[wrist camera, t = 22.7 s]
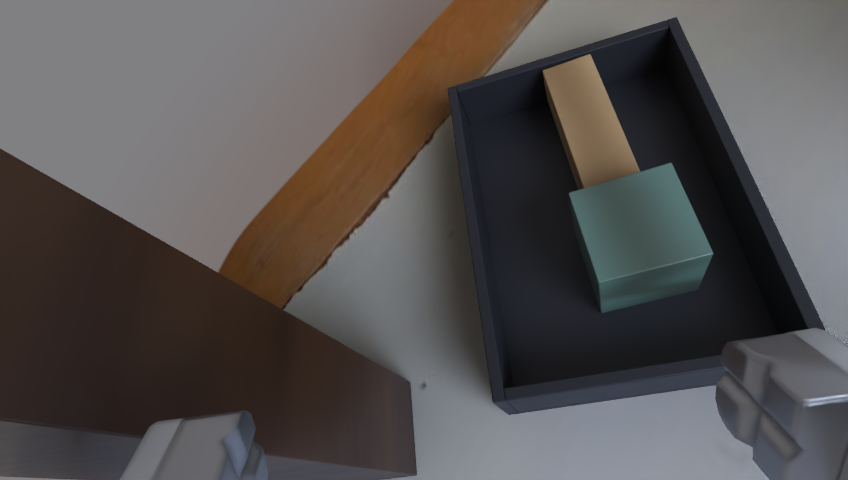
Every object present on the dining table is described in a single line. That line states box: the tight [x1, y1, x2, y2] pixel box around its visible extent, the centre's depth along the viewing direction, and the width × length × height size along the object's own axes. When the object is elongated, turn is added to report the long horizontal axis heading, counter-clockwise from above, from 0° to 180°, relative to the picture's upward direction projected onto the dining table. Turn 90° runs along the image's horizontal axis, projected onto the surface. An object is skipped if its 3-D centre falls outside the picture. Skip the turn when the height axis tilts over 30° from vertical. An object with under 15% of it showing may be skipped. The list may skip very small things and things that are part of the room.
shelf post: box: [0, 149, 417, 480], centre depth 19 cm, size 7×5×26 cm
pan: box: [448, 17, 826, 415], centre depth 29 cm, size 14×20×4 cm
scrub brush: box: [542, 54, 713, 313], centre depth 29 cm, size 5×15×5 cm, turn 8°
